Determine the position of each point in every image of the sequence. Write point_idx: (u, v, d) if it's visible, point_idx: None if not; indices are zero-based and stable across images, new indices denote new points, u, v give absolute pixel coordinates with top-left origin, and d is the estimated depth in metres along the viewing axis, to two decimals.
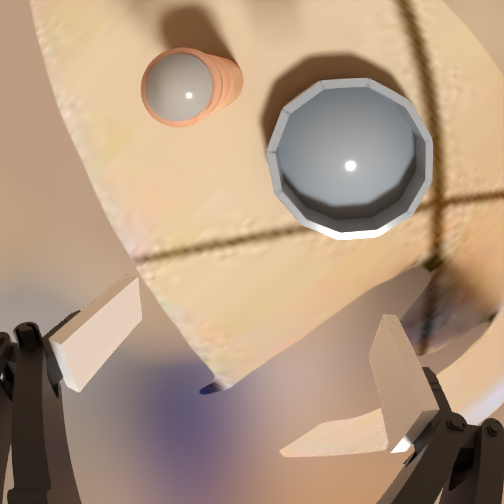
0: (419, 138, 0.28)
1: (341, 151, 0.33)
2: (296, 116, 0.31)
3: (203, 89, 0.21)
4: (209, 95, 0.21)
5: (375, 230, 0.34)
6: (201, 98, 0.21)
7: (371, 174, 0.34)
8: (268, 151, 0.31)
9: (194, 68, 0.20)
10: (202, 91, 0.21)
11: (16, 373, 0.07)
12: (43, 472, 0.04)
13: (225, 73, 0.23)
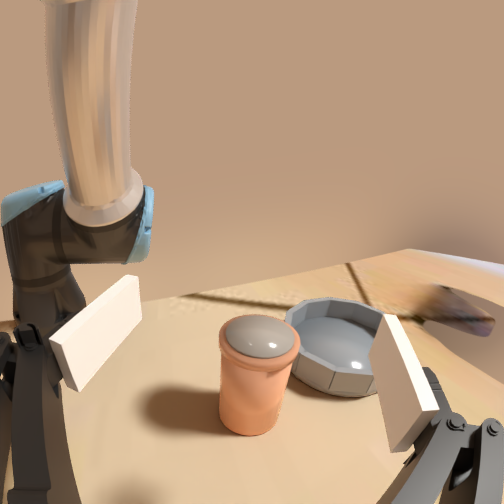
0: (328, 308, 0.50)
1: (339, 351, 0.41)
2: None
3: (273, 322, 0.28)
4: (280, 321, 0.28)
5: None
6: (280, 325, 0.27)
7: (357, 339, 0.44)
8: (335, 370, 0.32)
9: (251, 320, 0.28)
10: (274, 323, 0.28)
11: (16, 373, 0.07)
12: (43, 472, 0.04)
13: None
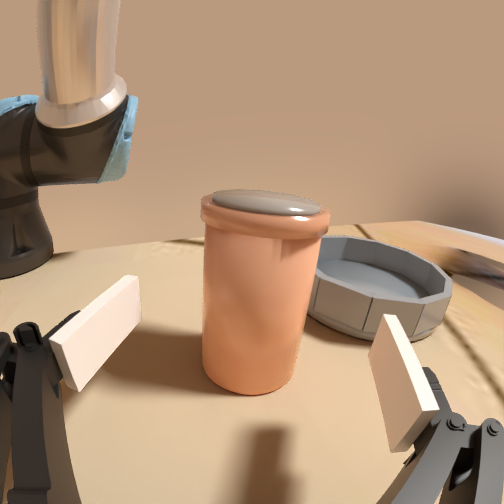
0: (345, 249, 0.41)
1: None
2: None
3: (285, 194, 0.19)
4: None
5: (432, 265, 0.32)
6: (296, 197, 0.18)
7: (384, 281, 0.35)
8: (372, 296, 0.23)
9: (252, 191, 0.19)
10: (287, 195, 0.18)
11: (16, 373, 0.07)
12: (43, 472, 0.04)
13: None
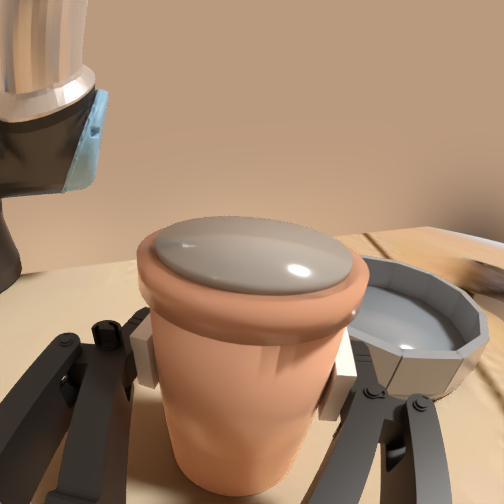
0: None
1: (385, 329, 0.24)
2: None
3: (287, 226, 0.11)
4: (304, 227, 0.12)
5: (460, 292, 0.25)
6: (306, 231, 0.11)
7: (405, 313, 0.27)
8: (402, 354, 0.16)
9: (234, 221, 0.11)
10: (291, 228, 0.11)
11: (87, 371, 0.08)
12: (95, 481, 0.04)
13: None
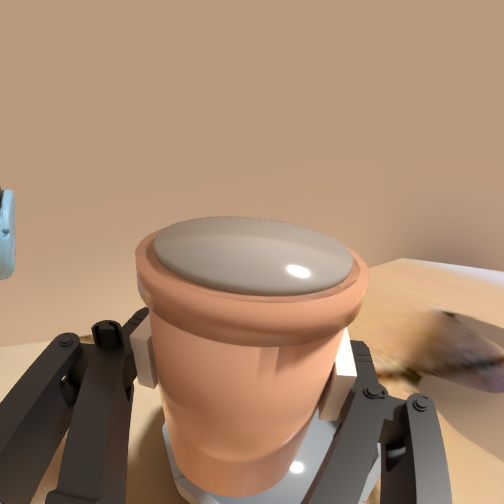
0: None
1: None
2: None
3: (287, 226, 0.11)
4: (304, 227, 0.12)
5: None
6: (305, 232, 0.11)
7: None
8: None
9: (233, 221, 0.11)
10: (291, 228, 0.11)
11: (87, 371, 0.08)
12: (95, 481, 0.04)
13: None
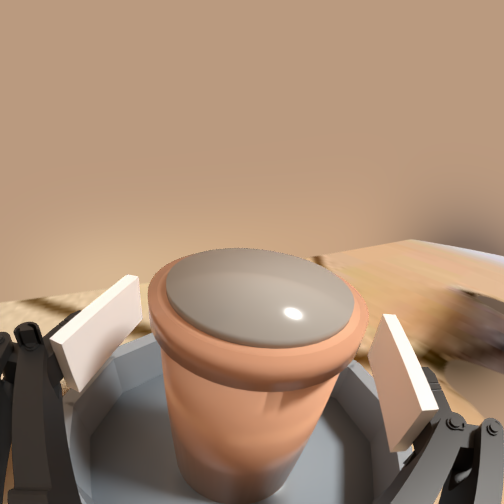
0: None
1: None
2: (107, 498, 0.09)
3: (292, 261, 0.12)
4: (308, 261, 0.12)
5: None
6: (310, 268, 0.11)
7: None
8: None
9: (240, 255, 0.12)
10: (295, 263, 0.12)
11: (16, 373, 0.07)
12: (43, 472, 0.04)
13: None
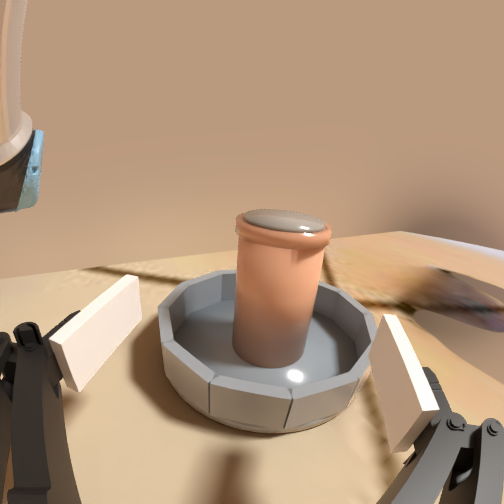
0: None
1: None
2: None
3: (297, 213, 0.24)
4: (304, 214, 0.25)
5: (364, 315, 0.26)
6: (305, 215, 0.24)
7: None
8: (211, 380, 0.17)
9: (272, 211, 0.25)
10: (298, 214, 0.24)
11: (16, 373, 0.07)
12: (43, 472, 0.04)
13: None
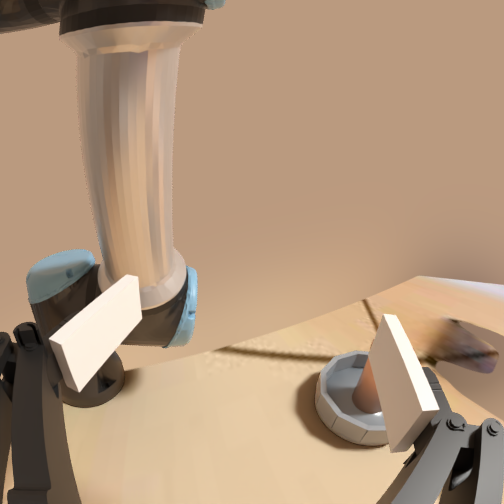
0: (355, 361, 0.51)
1: None
2: None
3: None
4: None
5: None
6: None
7: None
8: (367, 428, 0.33)
9: None
10: None
11: (16, 373, 0.07)
12: (43, 472, 0.04)
13: None
